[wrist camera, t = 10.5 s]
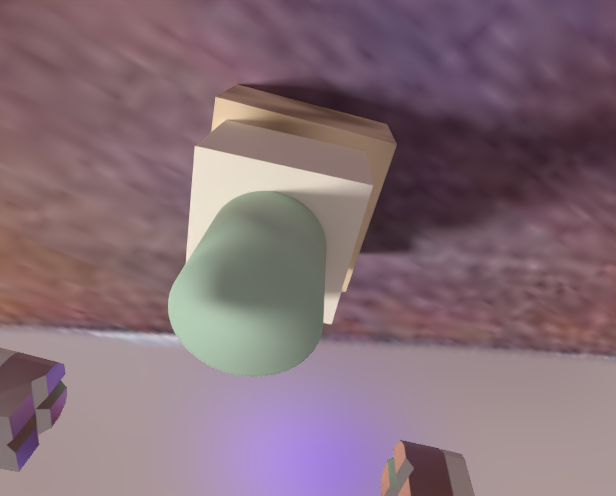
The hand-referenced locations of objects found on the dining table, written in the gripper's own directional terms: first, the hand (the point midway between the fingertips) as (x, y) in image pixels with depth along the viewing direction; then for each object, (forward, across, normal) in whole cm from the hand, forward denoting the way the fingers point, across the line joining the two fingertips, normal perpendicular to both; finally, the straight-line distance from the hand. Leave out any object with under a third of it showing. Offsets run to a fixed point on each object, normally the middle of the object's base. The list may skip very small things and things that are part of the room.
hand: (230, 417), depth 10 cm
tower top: (+14, +1, 0) cm, 14 cm away
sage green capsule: (+9, +1, 0) cm, 9 cm away
